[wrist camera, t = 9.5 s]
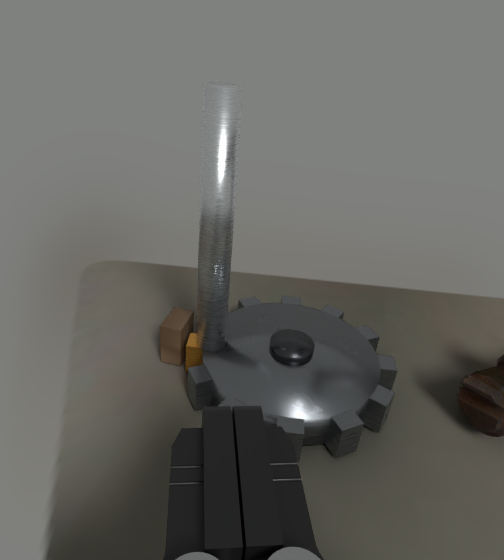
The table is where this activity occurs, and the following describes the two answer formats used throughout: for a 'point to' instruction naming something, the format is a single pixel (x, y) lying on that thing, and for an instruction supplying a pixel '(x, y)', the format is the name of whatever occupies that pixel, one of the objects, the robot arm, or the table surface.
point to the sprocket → (273, 325)
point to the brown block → (175, 335)
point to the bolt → (484, 399)
